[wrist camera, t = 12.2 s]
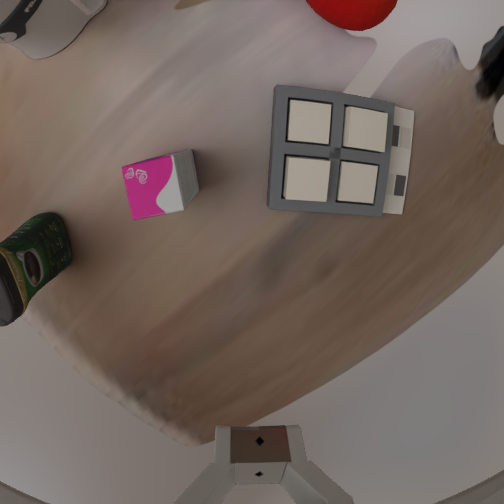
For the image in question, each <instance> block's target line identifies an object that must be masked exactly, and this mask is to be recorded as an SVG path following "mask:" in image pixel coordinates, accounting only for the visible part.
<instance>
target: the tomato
mask: <svg viewBox="0 0 504 504" xmlns="http://www.w3.org/2000/svg"><path fill="white" fill-rule="evenodd" d="M306 1H307V3H308V4H309V5H310V6H311V8H312V9H313V10H314V11H315V12H316V13H317V14H318V15H320V16H321V17H322V18H323V19H325V20H327V21H328V22H330V23H331V24H333V25H336V26H338V27H340V28H343V29H347V30H353V31H363V30H366V29H370V28H372V27H374V26H376V25H378V24H379V23H381V22H383V20H384V19H386V17H387V16H388V15H389V14H390V13H391V12H392V10H393V9H394V7H395V6H396V3H397V0H306Z"/></svg>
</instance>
